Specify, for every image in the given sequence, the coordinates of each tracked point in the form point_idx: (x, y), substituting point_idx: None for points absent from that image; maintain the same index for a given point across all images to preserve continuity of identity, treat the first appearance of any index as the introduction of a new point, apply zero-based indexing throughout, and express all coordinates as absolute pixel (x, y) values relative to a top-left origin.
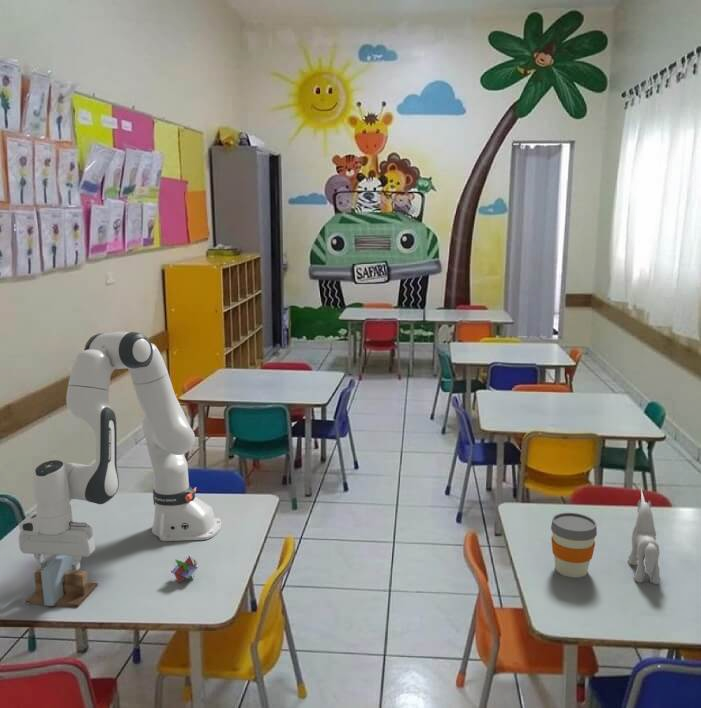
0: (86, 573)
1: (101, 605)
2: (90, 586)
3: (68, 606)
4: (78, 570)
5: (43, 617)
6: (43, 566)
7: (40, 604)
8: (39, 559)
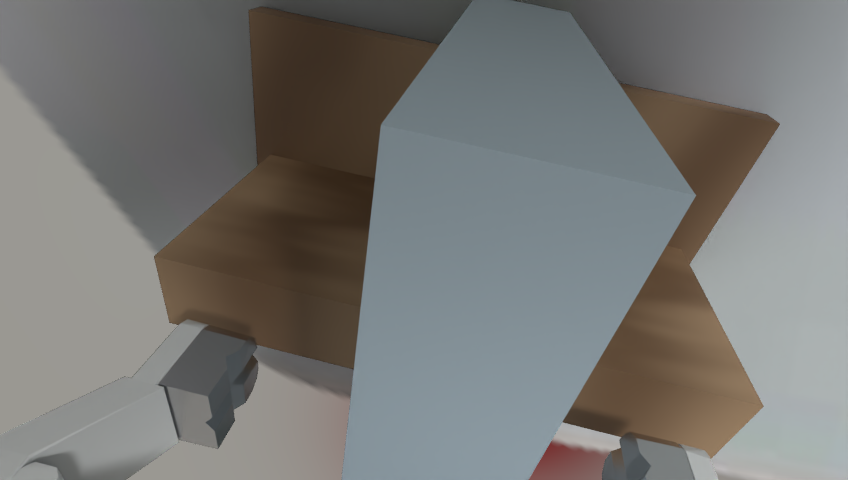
0: (749, 383)
1: (770, 374)
2: (701, 183)
3: None
4: (581, 31)
5: None
6: (236, 404)
7: None
8: (127, 472)
